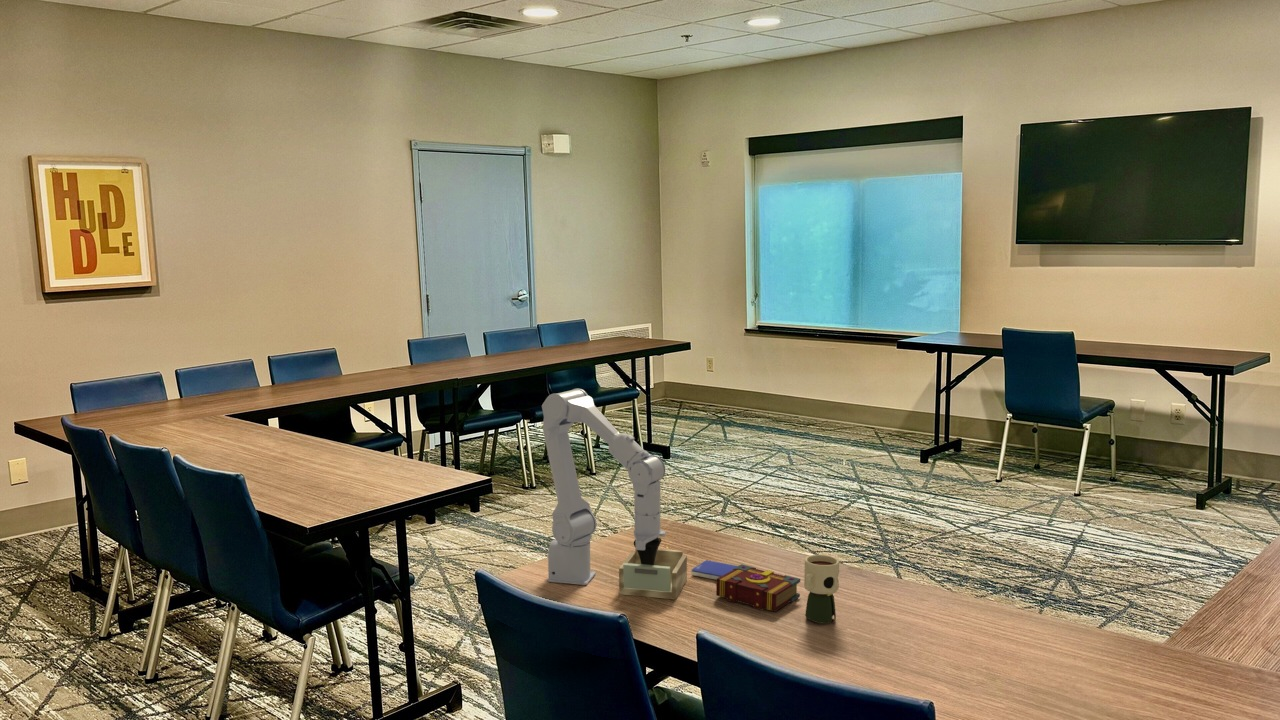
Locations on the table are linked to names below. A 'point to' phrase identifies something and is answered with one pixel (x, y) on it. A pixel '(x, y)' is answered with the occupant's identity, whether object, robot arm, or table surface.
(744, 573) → the decorative book
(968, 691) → the table surface
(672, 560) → the crate
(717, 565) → the hard drive
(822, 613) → the character mug
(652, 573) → the panel
